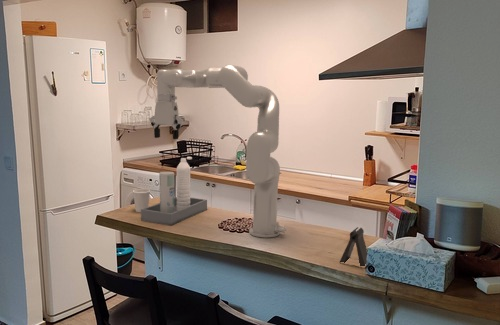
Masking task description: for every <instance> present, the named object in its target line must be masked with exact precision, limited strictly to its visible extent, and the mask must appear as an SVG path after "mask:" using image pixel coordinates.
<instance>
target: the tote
mask: <svg viewBox="0 0 500 325" xmlns="http://www.w3.org/2000/svg"><path fill="white" fill-rule="evenodd" d="M207 210H208V199H203V198H196V197H190V206H188V207H186V208H183V209H181V210H178V211H177V196H174V212H173V213H164V212H160V202H159V203H155V204H151V205H148V207H147V208H144V209H141V212H140V221H143V222H147V223H153V224H160V225H165V226H174V225H176V224H179V223H181V222H183V221H185V220H187V219H189V218H192V217H194V216H196V215H199V214H201V213H203V212H206V211H207Z"/></svg>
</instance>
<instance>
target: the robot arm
mask: <svg viewBox="0 0 500 325" xmlns="http://www.w3.org/2000/svg"><path fill="white" fill-rule="evenodd" d="M248 80H249V74H248V71H247V70H246V69H245V67H242V66H239V65H233V64H226V65H225V66H209V67H208V68H207V69H191V70H190V69H181V68H174V69H159V70H157V72H156V89H157V90H156V91H157V94H156V100H157V101H155V106H154V107H155V108H154V115H153V116H151V117H150V118H148V119H149V122H150V125H151V126H152V129H153V130H154V134H153V136H154V138H155V139H157V138H158V139H159V138H160V137H161V129H160V127H161V126H171V127H172V128H173V130H172V140H177V139H179V135H180V134H179V132H180V129H181V128H182V127H183V124H184V121H185V120H184V119H183V118H181V117H180V116H179V114H180V113H179V107H178V103H177V102H176V100H177V99H178V96H176V88H189V89H192V88H193V89H195V88H208V89H225V90H226V91H227V92H228V93H229V94H230V95H231V96H232V97H233V98H234V99H235V100H236V101H237V102H238V103H239V104H241V106H243V107H245V108H249V109H251V108H258V116H257V129H256V131H255V132H253V133H252V134H251V135H249V137H248V139H247V143H246V144H247V145H246V158H245V159H246V160H245V161H246V162H245V163H246V164H245V171H246V176H247V179H248V180H249V181H250V182H251V183H252V184H254V186H253V187H254V188H253V213H252V214H253V215H252V216H253V217H252V227H250V228H249V230H248V233H249V234H250V235H251V236H253V237H257V238H266V239H267V238H275V237H278V236H279V235H280V234H281V233H282V234H285V233H286V231H287V229H286V227H285V226H281V225H280V223H279V222H278V221H277V220H278V218H277V216H278V215H277V214H278V193H279V192H278V191H279V190H278V188H279V180H280V173H281V169H280V164H279V162H278V161H277V159H275V157H272V156H271V154H272V153H274V152H276V150H277V149H278V147H279V139H280V138H279V134H280V132H279V131H280V102H279V99H278V97H277V95H276V94H275V93H274V92H273V91H272V90H271V89H270V88H268V87H265V86H262V85H256V84H255V85H254V84H251V82H250V81H248Z"/></svg>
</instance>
